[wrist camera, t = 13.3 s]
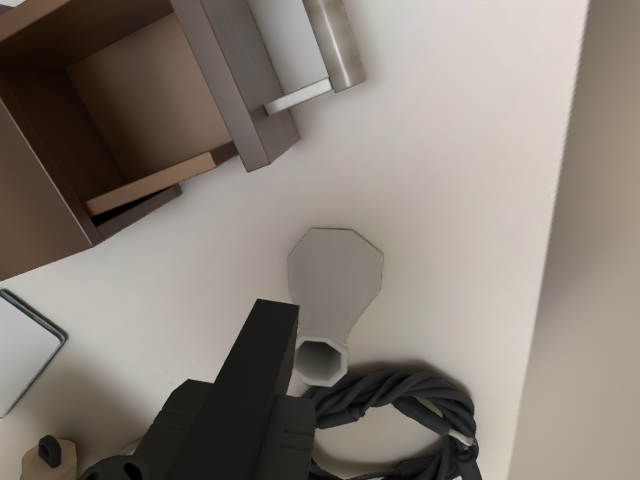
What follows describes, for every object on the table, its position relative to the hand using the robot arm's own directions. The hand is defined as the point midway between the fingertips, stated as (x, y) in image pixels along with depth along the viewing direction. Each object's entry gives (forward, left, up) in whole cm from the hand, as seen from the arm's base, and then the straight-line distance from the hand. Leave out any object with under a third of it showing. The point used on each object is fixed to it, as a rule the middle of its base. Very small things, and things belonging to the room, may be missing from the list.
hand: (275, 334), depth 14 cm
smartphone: (-4, +34, -14) cm, 37 cm away
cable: (-20, +3, -15) cm, 25 cm away
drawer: (+10, +3, -13) cm, 17 cm away
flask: (-5, +1, -14) cm, 15 cm away
